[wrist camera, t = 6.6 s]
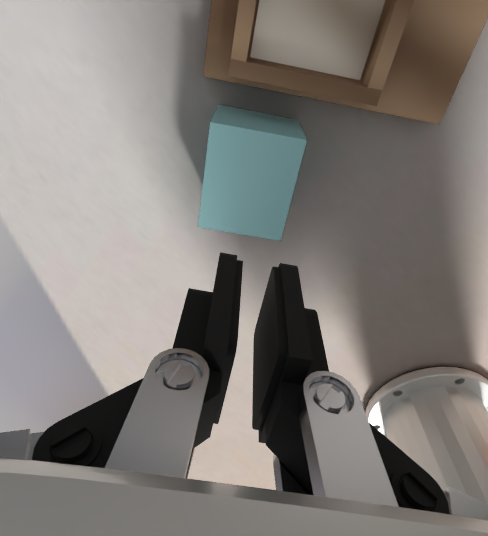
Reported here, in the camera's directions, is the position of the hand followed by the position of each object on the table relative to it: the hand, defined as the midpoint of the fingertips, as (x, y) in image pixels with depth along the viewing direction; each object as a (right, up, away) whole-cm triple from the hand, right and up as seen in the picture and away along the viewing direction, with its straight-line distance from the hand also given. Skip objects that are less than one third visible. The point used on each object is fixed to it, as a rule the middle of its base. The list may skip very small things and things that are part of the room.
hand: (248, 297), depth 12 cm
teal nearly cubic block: (0, +8, +13) cm, 15 cm away
